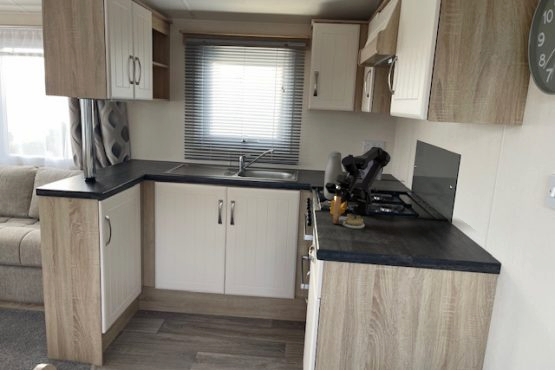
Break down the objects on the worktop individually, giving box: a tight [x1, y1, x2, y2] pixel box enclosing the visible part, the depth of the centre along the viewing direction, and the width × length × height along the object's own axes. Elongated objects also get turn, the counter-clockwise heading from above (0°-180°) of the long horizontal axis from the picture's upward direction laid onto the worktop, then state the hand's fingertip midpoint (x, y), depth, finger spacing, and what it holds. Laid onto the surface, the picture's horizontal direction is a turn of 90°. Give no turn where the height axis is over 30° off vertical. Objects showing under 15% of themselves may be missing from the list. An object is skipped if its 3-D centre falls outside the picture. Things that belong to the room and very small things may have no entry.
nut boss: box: [342, 220, 366, 230], centre depth 180 cm, size 10×10×1 cm
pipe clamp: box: [329, 200, 348, 215], centre depth 202 cm, size 12×4×6 cm, turn 143°
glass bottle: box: [323, 150, 344, 201], centre depth 227 cm, size 10×10×28 cm
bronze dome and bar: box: [331, 196, 364, 226], centre depth 180 cm, size 14×8×12 cm, turn 83°
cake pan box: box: [360, 160, 384, 181], centre depth 306 cm, size 19×5×18 cm, turn 84°
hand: (337, 205), depth 182 cm, fingers closed
